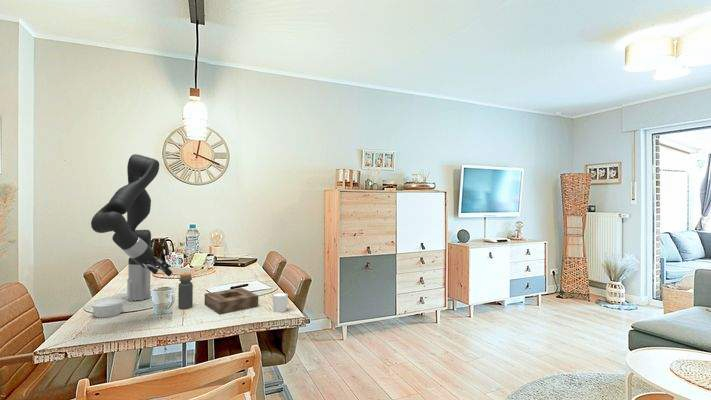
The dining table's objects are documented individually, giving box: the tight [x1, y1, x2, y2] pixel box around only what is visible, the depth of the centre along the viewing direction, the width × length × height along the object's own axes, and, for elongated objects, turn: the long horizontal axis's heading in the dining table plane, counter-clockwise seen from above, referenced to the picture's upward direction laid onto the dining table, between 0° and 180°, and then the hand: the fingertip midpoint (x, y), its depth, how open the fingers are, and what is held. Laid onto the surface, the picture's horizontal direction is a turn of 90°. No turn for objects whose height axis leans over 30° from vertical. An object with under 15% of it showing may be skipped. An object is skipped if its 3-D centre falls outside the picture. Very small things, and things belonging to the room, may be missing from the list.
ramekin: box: [91, 298, 125, 319], centre depth 157 cm, size 11×11×5 cm
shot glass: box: [271, 292, 289, 313], centre depth 165 cm, size 7×7×7 cm
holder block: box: [203, 287, 259, 315], centre depth 171 cm, size 18×18×5 cm
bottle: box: [177, 272, 194, 310], centre depth 168 cm, size 6×6×15 cm
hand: (163, 273), depth 157 cm, fingers open, 8 cm apart
